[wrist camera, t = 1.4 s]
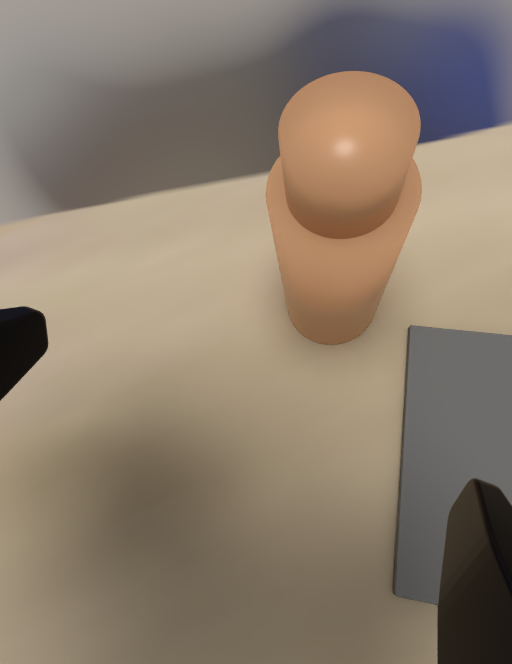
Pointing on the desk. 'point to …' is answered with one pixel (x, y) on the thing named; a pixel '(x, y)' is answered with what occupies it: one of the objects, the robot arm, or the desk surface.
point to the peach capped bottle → (342, 199)
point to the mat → (448, 442)
